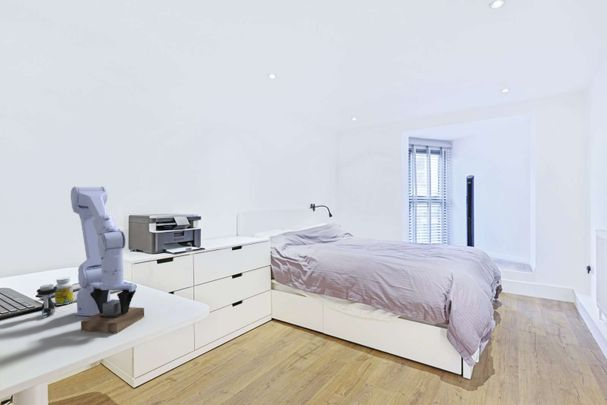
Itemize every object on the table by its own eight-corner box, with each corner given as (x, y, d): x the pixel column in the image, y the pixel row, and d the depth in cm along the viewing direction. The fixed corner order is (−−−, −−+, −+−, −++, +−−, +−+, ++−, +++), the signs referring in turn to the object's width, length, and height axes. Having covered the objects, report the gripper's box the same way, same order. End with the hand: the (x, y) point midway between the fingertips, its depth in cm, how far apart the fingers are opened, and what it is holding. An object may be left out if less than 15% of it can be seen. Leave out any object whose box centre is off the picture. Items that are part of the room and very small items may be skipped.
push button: (53, 317, 103) (52, 288, 102) (33, 320, 101) (32, 290, 100) (60, 310, 109) (59, 282, 108) (41, 313, 107) (40, 284, 106)
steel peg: (103, 326, 96) (102, 303, 95) (113, 320, 100) (112, 299, 99) (115, 326, 95) (114, 304, 95) (124, 321, 99) (123, 299, 99)
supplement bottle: (76, 300, 120) (75, 275, 119) (68, 305, 114) (67, 279, 114) (60, 301, 118) (59, 276, 118) (52, 306, 113) (51, 280, 113)
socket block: (81, 330, 92) (80, 321, 92) (112, 315, 104) (111, 306, 104) (117, 333, 91) (116, 323, 90) (144, 316, 102) (143, 307, 102)
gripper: (81, 272, 94) (82, 316, 94) (123, 273, 92) (125, 319, 92) (99, 267, 101) (101, 308, 101) (140, 268, 99) (141, 310, 99)
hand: (114, 312), depth 97 cm, fingers open, 7 cm apart
